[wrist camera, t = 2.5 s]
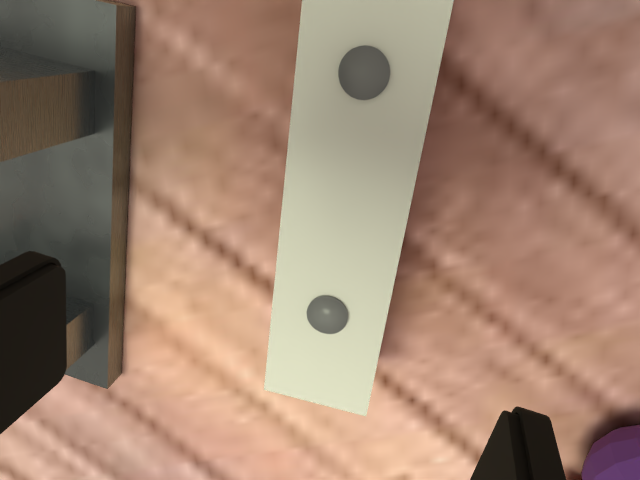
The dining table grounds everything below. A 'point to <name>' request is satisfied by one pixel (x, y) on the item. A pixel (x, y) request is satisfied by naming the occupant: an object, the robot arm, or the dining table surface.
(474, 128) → the dining table surface
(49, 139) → the rack
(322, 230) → the cream rectangular bar
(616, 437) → the purple maraca
